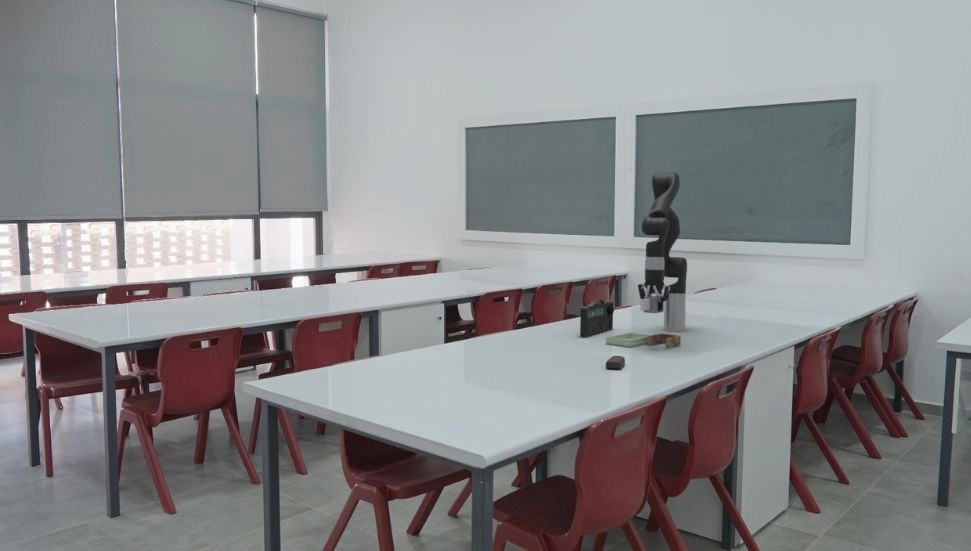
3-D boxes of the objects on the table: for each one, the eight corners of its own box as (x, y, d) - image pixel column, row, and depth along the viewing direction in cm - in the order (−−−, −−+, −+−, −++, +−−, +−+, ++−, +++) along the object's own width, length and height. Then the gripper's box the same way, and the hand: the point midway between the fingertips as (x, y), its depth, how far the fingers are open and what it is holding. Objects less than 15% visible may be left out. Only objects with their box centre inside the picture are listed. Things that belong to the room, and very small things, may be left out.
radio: (588, 338, 340) (589, 291, 338) (580, 337, 343) (580, 291, 341) (615, 331, 361) (615, 287, 359) (606, 330, 363) (607, 286, 361)
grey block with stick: (652, 310, 318) (652, 295, 318) (663, 311, 315) (663, 296, 314) (635, 313, 309) (636, 298, 308) (646, 314, 306) (647, 299, 305)
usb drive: (605, 367, 277) (605, 360, 277) (612, 361, 289) (612, 354, 289) (620, 369, 276) (620, 361, 276) (626, 363, 287) (626, 355, 287)
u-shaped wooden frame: (659, 342, 328) (660, 333, 328) (680, 345, 322) (680, 335, 322) (647, 345, 321) (647, 336, 321) (667, 348, 315) (668, 338, 314)
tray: (629, 339, 337) (629, 332, 337) (653, 342, 329) (653, 335, 329) (605, 344, 324) (605, 337, 324) (630, 347, 316) (630, 340, 316)
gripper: (675, 268, 310) (674, 311, 312) (643, 266, 320) (643, 308, 322) (665, 269, 305) (664, 313, 306) (633, 267, 315) (633, 310, 316)
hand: (653, 310), depth 314 cm, fingers closed on grey block with stick, 5 cm apart
